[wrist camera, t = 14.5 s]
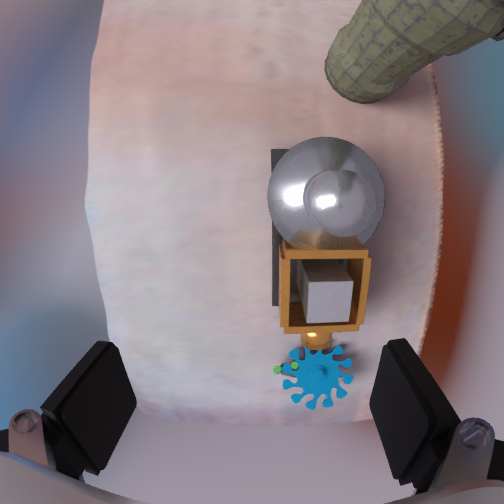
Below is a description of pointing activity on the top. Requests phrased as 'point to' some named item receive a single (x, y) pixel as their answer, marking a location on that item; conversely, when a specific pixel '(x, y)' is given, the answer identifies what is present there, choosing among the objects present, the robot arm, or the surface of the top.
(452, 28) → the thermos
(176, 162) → the top surface
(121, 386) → the robot arm
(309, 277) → the tall grey block
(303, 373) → the blue splat shape
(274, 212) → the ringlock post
